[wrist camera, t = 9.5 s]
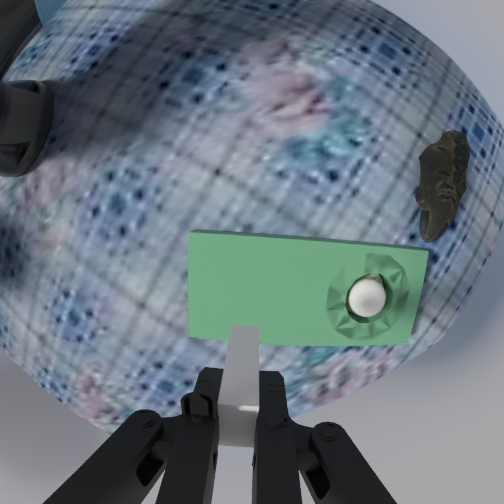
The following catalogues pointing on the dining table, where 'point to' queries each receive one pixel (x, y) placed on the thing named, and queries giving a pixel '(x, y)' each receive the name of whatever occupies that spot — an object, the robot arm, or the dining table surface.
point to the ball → (367, 297)
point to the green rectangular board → (299, 288)
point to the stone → (442, 183)
